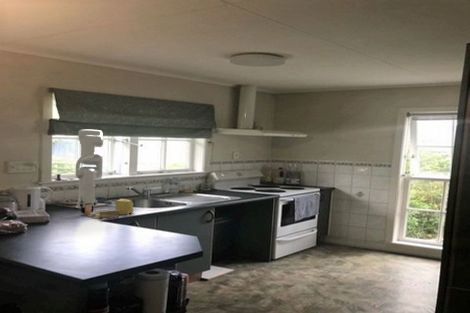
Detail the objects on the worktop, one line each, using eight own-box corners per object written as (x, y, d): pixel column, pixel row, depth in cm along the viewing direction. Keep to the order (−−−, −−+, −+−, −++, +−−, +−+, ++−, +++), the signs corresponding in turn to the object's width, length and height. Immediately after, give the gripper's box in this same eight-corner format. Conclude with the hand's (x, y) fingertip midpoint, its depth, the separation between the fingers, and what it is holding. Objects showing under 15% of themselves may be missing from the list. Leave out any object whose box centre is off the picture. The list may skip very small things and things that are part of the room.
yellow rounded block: (133, 213, 340) (133, 199, 339) (128, 215, 329) (129, 201, 329) (119, 212, 341) (120, 198, 340) (114, 214, 330) (115, 200, 330)
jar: (80, 214, 321) (81, 203, 321) (88, 213, 326) (88, 202, 325) (85, 215, 317) (86, 204, 317) (93, 214, 322) (93, 203, 321)
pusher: (95, 216, 314) (95, 210, 314) (108, 215, 322) (109, 208, 322) (96, 216, 313) (96, 210, 313) (109, 215, 322) (110, 209, 322)
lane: (87, 215, 317) (87, 208, 317) (105, 213, 328) (105, 207, 328) (100, 219, 307) (100, 212, 307) (119, 217, 318) (119, 210, 318)
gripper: (95, 186, 330) (94, 210, 330) (74, 187, 316) (73, 212, 317) (101, 187, 325) (100, 212, 326) (80, 188, 312) (79, 214, 312)
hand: (87, 212), depth 321 cm, fingers closed on jar, 6 cm apart
